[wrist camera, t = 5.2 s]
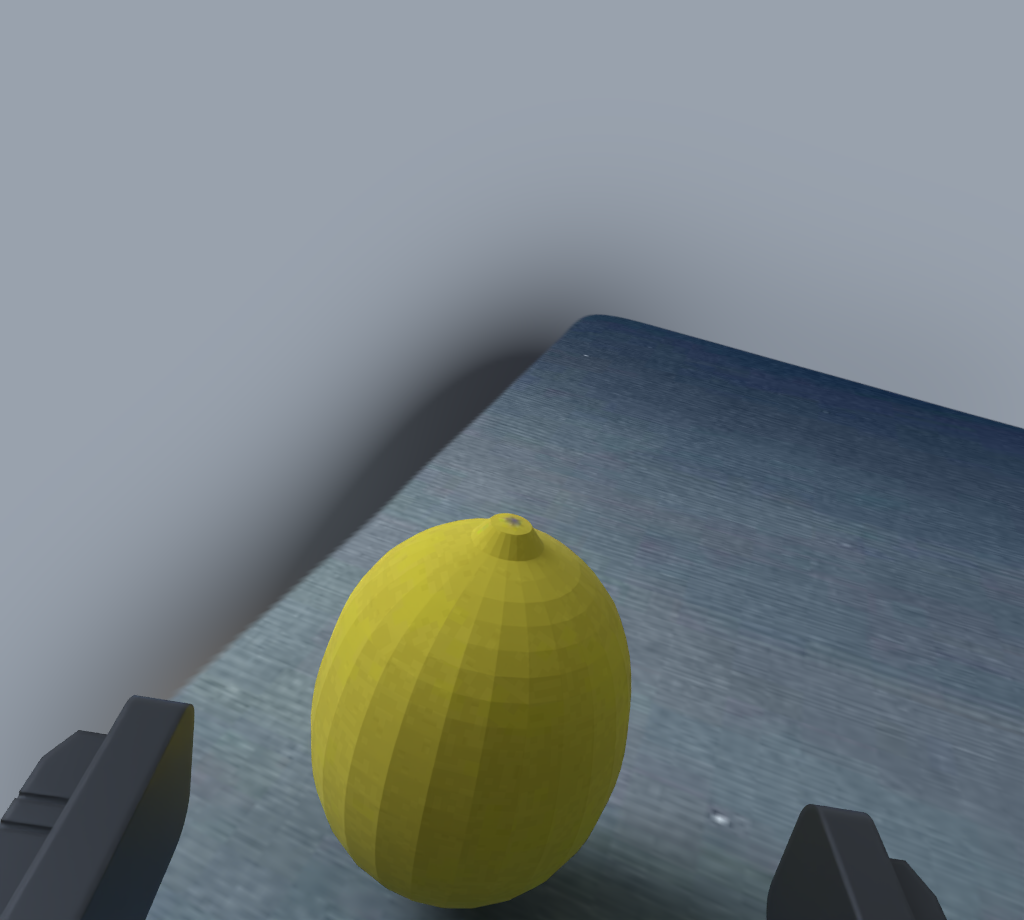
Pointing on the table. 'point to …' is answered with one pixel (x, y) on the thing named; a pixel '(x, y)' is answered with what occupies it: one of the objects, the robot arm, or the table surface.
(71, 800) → the robot arm
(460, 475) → the table surface
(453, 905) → the lemon
